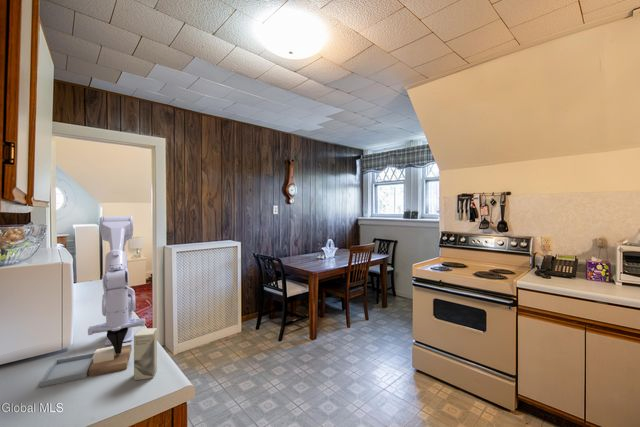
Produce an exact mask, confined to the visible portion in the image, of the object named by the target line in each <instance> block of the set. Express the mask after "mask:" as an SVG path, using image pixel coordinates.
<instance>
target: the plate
mask: <svg viewBox="0 0 640 427" xmlns="http://www.w3.org/2000/svg"><path fill="white" fill-rule="evenodd" d="M131 354H132V344H127V345H122V351H121V353H120V354H115V357H114V360H109V361H104V362H99V363H94V364H93V362H92V364H91V366H90V369H89V374H88V377H89V378H90V377H95V376H96V377H97V376H99V375H105V374H110V373H114V372H119V371H123V370H127V368H128V365H129V361H130V358H131Z"/></svg>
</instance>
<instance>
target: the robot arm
mask: <svg viewBox="0 0 640 427" xmlns="http://www.w3.org/2000/svg"><path fill="white" fill-rule="evenodd" d="M133 217H134V216H133V215H121V216H120V215H119V216H116V215H115V216H103V215H102V216H101V217H100V218H99V232H100V235H101V238H102V241H105V242H108V243H109V250H110V251H109V252H108V253H106V254H105V262H104V263H105V264H104V273H103V274H102V289H103V294H102V299H101V314H102V316H104V317H105V323H99V324H96V325H91V326H88V328H87V336H92V335H93V334H94V335H95V334H100V333H106V338H107V339H106V340H105V343H104V345H105V346H110V345H111V346H113V347H114V350H115V353H116V354H120V353H121V351H122V346H123V343H127V342H132V341H134V335H135V333H136V329H135V328H137V327H140V328H141V327H145V325H146V318H145V317H144V318H133V316H132V314H133V312H135V311H136V293H135V290H134V289H133V288H132V287H131V286H130V273H129V268H128V254H127V252H126V244H127V241H130V240H131V239H133V236H134V218H133ZM126 283H127V284H126Z"/></svg>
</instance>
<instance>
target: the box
mask: <svg viewBox="0 0 640 427" xmlns="http://www.w3.org/2000/svg"><path fill="white" fill-rule="evenodd" d="M157 369H158V328H157V327H153V328H151V327H150V328H141V329H137V330H136V331H135V332H134V336H133V380H134V381H138V380H139V381H140V380H147V379H153V378H154V377H155V375H156V373H157Z"/></svg>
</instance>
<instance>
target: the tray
mask: <svg viewBox="0 0 640 427" xmlns="http://www.w3.org/2000/svg"><path fill="white" fill-rule="evenodd" d="M94 354H95V352H91V353H85V354H79V355H74V356H70V357H63V358H58V359H55V360H54V362H53V363H52V365H50V367H49V368H48V370H47V371H46V373H45V374H44V376H43V377H42V379H41V380H40V381H39V387H40V388H43V387H48V386H52V385H57V384H63V383H68V382H72V381H77V380H81V379H86V378H88V377H89V369H90V366H91V364H92V362H93V356H94Z"/></svg>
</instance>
